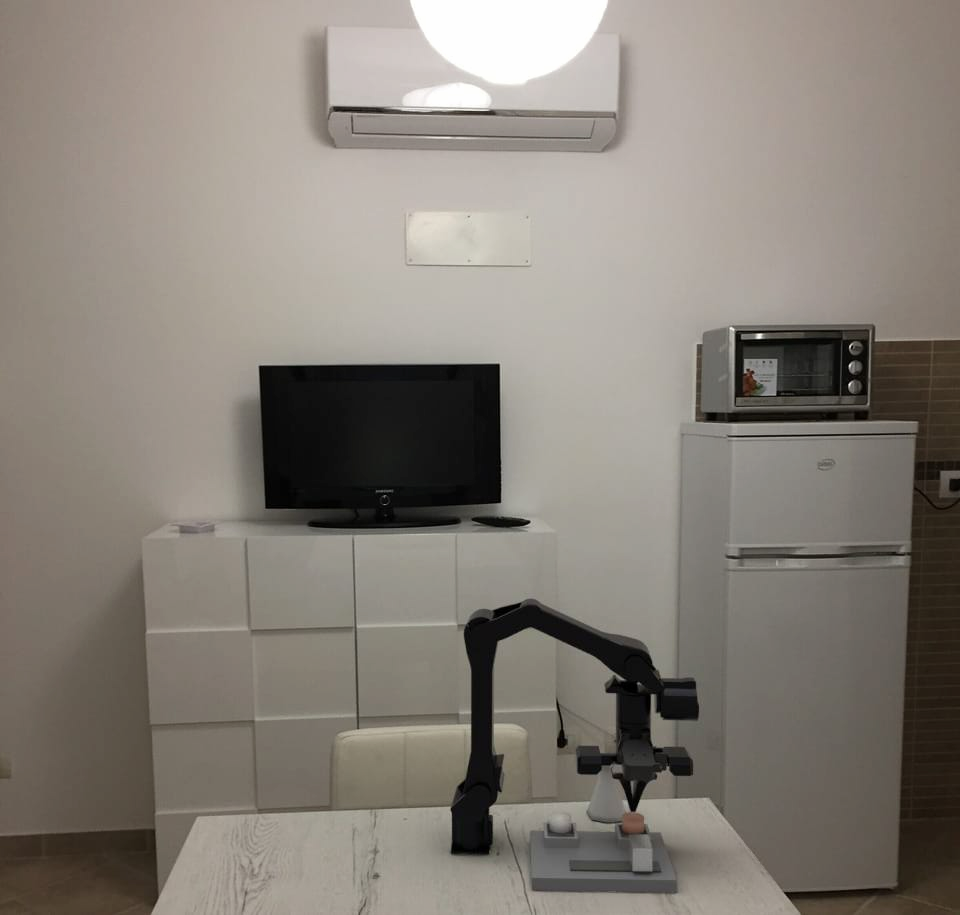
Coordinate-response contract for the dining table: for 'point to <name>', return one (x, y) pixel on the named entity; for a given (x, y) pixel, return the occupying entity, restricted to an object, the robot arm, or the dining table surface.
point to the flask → (606, 799)
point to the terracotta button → (633, 823)
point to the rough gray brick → (640, 852)
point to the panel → (596, 862)
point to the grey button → (560, 822)
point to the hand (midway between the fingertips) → (632, 811)
